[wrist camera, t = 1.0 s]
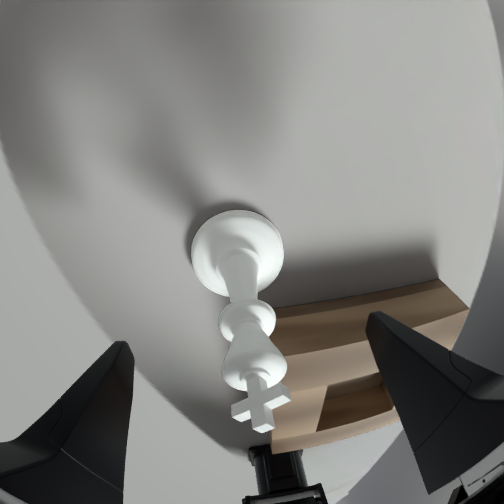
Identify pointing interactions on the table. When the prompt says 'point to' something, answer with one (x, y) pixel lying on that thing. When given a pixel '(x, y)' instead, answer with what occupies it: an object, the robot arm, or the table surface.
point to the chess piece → (245, 307)
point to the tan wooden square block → (348, 361)
